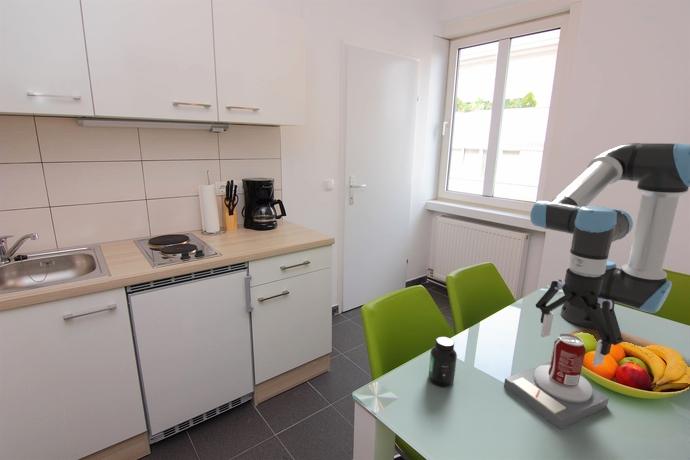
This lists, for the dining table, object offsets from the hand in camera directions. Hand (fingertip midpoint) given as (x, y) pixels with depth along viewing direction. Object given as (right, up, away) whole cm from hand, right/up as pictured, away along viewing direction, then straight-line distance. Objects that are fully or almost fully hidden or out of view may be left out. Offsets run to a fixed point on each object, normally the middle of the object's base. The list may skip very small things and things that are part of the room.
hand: (569, 349), depth 90 cm
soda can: (-1, -9, +2) cm, 9 cm away
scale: (-3, -13, +2) cm, 13 cm away
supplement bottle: (-31, -11, +7) cm, 34 cm away
